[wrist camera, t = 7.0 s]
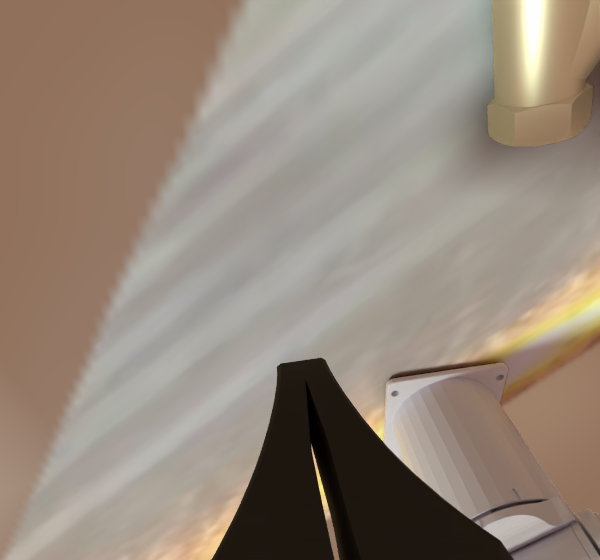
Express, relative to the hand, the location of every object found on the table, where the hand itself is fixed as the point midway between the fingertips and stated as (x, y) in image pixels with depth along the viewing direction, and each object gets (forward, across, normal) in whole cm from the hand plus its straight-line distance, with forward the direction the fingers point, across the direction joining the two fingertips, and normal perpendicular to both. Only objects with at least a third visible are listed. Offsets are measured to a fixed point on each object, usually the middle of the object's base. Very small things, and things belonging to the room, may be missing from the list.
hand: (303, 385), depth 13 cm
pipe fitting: (+11, -12, -8) cm, 19 cm away
